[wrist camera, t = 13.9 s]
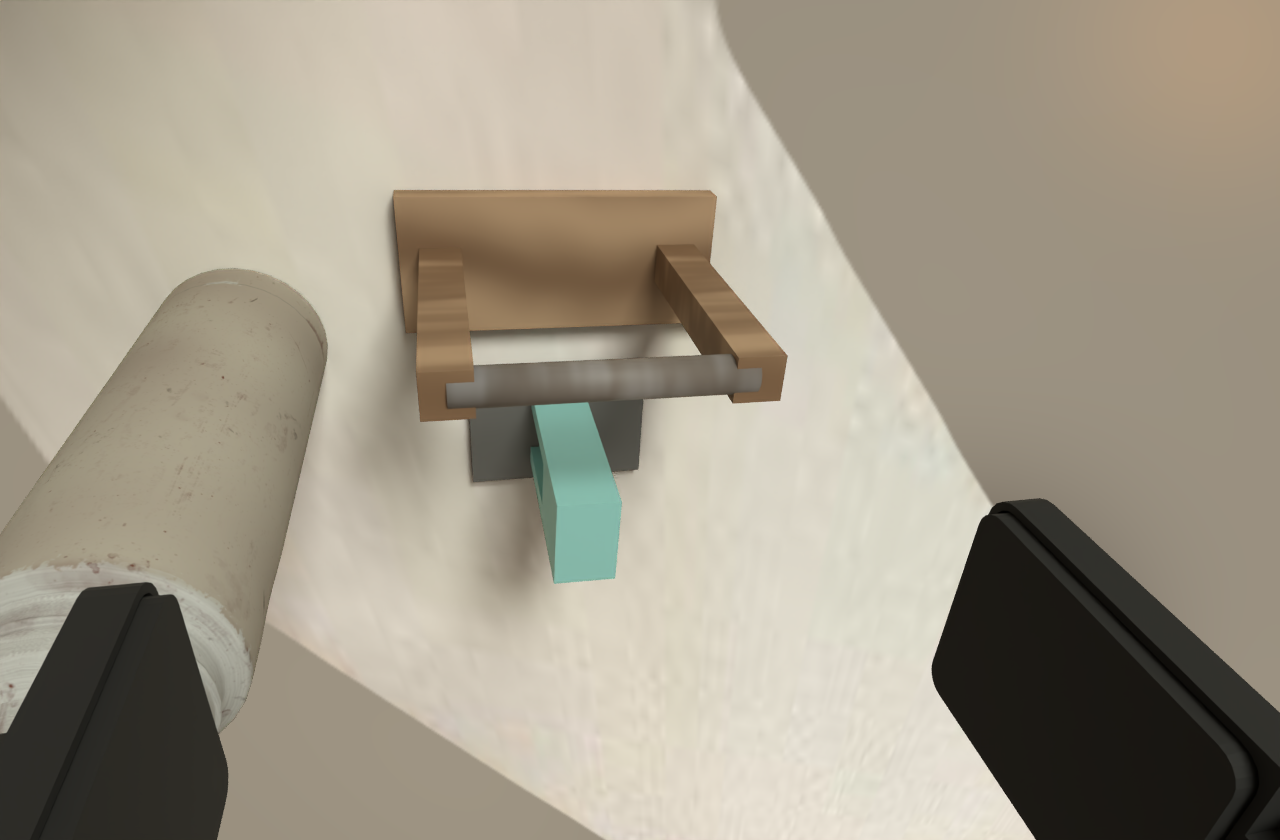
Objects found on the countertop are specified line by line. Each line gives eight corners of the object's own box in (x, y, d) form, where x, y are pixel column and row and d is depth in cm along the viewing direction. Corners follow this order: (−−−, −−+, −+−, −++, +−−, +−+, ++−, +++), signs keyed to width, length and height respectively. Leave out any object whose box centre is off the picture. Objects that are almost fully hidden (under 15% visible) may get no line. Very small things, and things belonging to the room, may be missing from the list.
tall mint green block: (531, 392, 46) (557, 506, 37) (584, 391, 47) (621, 502, 38) (530, 461, 48) (554, 583, 39) (580, 458, 49) (614, 578, 40)
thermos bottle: (332, 410, 45) (228, 942, 21) (170, 410, 43) (-144, 998, 19) (323, 270, 41) (182, 735, 17) (143, 263, 39) (-290, 778, 15)
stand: (393, 190, 39) (378, 310, 27) (710, 190, 43) (824, 296, 31) (406, 323, 43) (397, 483, 31) (697, 313, 46) (795, 453, 34)
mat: (467, 371, 45) (467, 376, 45) (642, 363, 47) (645, 368, 47) (472, 476, 49) (473, 481, 48) (636, 464, 51) (638, 469, 50)
